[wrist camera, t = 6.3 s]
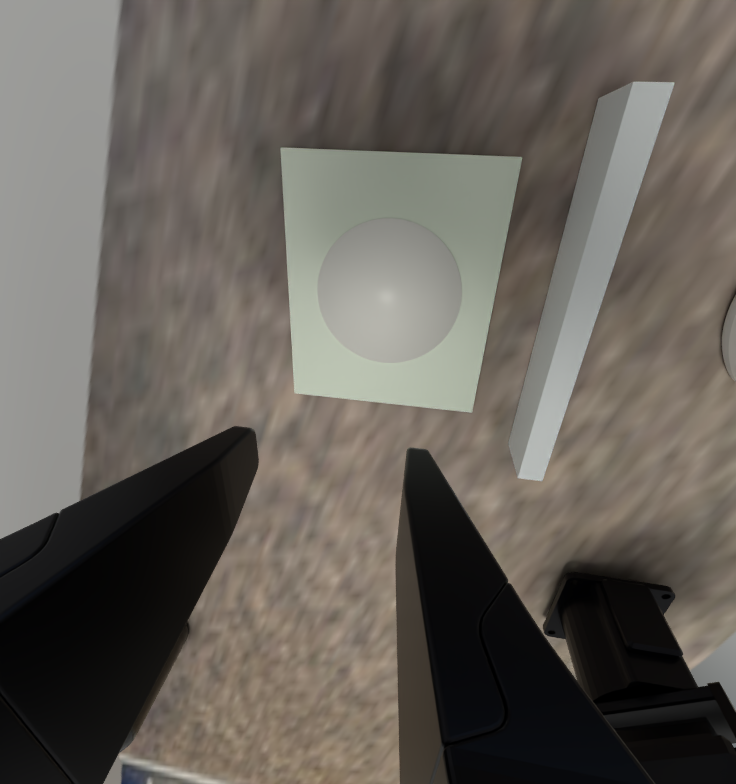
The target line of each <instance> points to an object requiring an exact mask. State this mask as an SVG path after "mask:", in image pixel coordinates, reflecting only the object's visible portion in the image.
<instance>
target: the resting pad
mask: <svg viewBox="0 0 736 784" xmlns="http://www.w3.org/2000/svg"><path fill="white" fill-rule="evenodd" d="M280 149H281V166H282V183H283V201H284V218H285V236H286V253H287V270H288V288H289V305H290V322H291V340H292V357H293V374H294V392H295V393H298V394H307V395H316V396H325V397H334V398H343V399H352V400H361V401H371V402H380V403H389V404H398V405H407V406H416V407H425V408H434V409H444V410H453V411H462V412H471V413H472V410H473V405H474V400H475V395H476V390H477V385H478V380H479V374H480V369H481V364H482V359H483V354H484V349H485V344H486V339H487V334H488V329H489V324H490V319H491V314H492V309H493V304H494V299H495V294H496V288H497V283H498V278H499V273H500V268H501V263H502V258H503V253H504V248H505V243H506V238H507V233H508V228H509V223H510V218H511V213H512V208H513V202H514V197H515V192H516V187H517V182H518V177H519V172H520V167H521V162H522V157H509V156H484V155H459V154H433V153H408V152H383V151H357V150H332V149H307V148H282V147H280Z"/></svg>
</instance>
